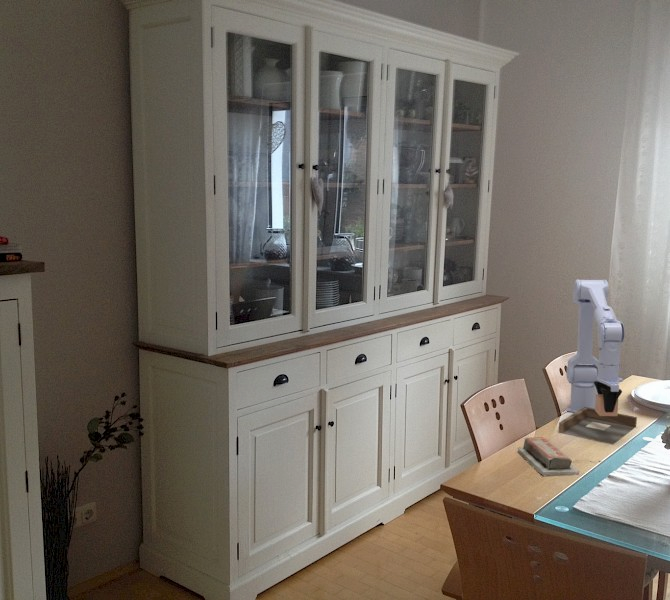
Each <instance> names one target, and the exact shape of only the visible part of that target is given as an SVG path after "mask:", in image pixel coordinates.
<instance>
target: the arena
mask: <svg viewBox="0 0 670 600" xmlns="http://www.w3.org/2000/svg"><path fill="white" fill-rule="evenodd" d="M637 420H638V418H637V416H634V415H629V414H622V413H619V412H618V415H617V416H599V415H598V413H597V412H596V411H595V409H593V408H588V407H584V408H582V409H581V410H579V411H577V412H576V413H575V412H573V413H572V414H570V415H569V416H568V417H566V418H564V419H563V420H561V421H560V422H558V433H559V434H564V435H568V436H573V437H577V438H582V439H586V440H591V441H595V442H599V443H604V444H608V445H615V444H616V443H617V442H619V441H620V440H621V439H622V438H624V437H625V436H627V434H629V433H630V432H631V431H633V430H634V429H635V428H637Z"/></svg>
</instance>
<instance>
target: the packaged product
mask: <svg viewBox="0 0 670 600" xmlns="http://www.w3.org/2000/svg"><path fill="white" fill-rule="evenodd" d="M523 441H524V442H523V447H521V446H520V447H518V448H517V453H519V455H521V457H522V458H524V460H525V461H526V462H527V461H528V462H527V463H529V465H530V466H531V467H532V466H533V467H534V468H535V469H534V468H533V469H534V470H535V471H537V473H539V475H541V474H542V475H543V477H549V476H548V475H557V476H568V475H569V476H571V475H572V476H573V475H574V474H576V475H579V474H580V470H578V469H577V468H576V467H574V466H573V465H572V463H573V462H572V461H573V460H572V459H571V458H570V457H569V456H568V455H567V454H565V452H563V451H562V450H561V449H559V448H558V447H557V446H556V445H555V444H554V443H552V441H550V439H548V438H546V437H543V436H540V437H539V436H538V437H535V436H534V437H526V438H524V440H523ZM542 475H541V476H542ZM544 475H545V476H544ZM574 476H575V475H574Z"/></svg>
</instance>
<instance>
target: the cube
mask: <svg viewBox="0 0 670 600" xmlns="http://www.w3.org/2000/svg"><path fill="white" fill-rule="evenodd" d="M618 410H619V398H618V399H617V402H616V405H615V408H614V411H613V412H605V409H604V399H603V394H598V393H597V394H596V401H595V411H596V412H597V413H598V415H599V416H617V415H618V413H619V412H618Z"/></svg>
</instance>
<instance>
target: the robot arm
mask: <svg viewBox="0 0 670 600" xmlns="http://www.w3.org/2000/svg"><path fill="white" fill-rule="evenodd" d="M609 295H610V285H609V282H608V281H607V279H577V278H576V280H574V283H573V287H572V302H573V304H576V305H577V308H578V312H577V313H578V314H577V315H578V318H577V320H578V321H577V344H576V345H577V346H576V347H577V348H576V350H577V351H576V354H574V356H572V357H570V358H569V359H568V360H567V366H566V380H567V382H568V383H569V384H570V400H569V401H570V404H569V406H568V407H566V408H565V409H564V410H565V412H571V413H576V412H577V411H579V410H581V409H582V408H584V407H588V408H593V409H595V401H596V394H603V399H604V409H605V412H613V411H614V408H615V405H616V402H617V399H618V400H619V397H620V396H621V394H622V393H623V390H622V389H620V385H619V384H620V382H621V383H622V382H624V379H623V378H622V377H620V364H621V348H622V343H623V342H624V341H625V337H626V336H625V335H626V333H625V332H626V329H625V325H624V322H622V321H620V320H618V318H617V316H616V314H615V311H614V310H613V308H612V307H611V306H609V305H608V302H607V299H608V297H609ZM594 321H595V324H596V327H597V329H596V330H597V331H596V332H597V334H596V336H597V346H598V349H599V350H598V359H597V358H596V357H595V356H594V355H593V346H594V345H593V344H594V341H593V340H594Z"/></svg>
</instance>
